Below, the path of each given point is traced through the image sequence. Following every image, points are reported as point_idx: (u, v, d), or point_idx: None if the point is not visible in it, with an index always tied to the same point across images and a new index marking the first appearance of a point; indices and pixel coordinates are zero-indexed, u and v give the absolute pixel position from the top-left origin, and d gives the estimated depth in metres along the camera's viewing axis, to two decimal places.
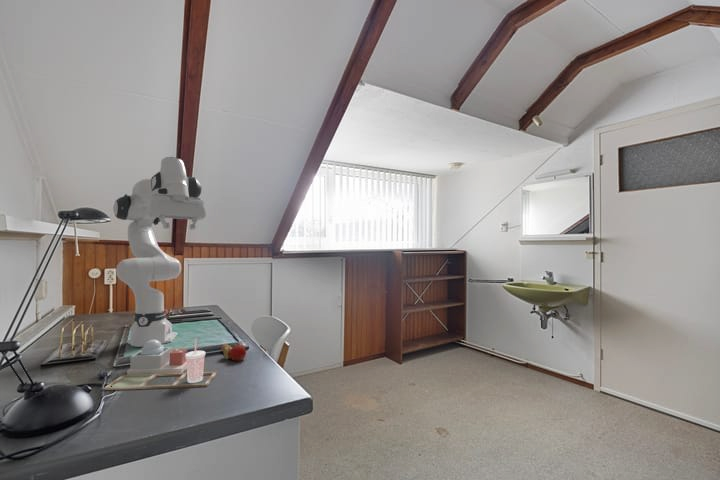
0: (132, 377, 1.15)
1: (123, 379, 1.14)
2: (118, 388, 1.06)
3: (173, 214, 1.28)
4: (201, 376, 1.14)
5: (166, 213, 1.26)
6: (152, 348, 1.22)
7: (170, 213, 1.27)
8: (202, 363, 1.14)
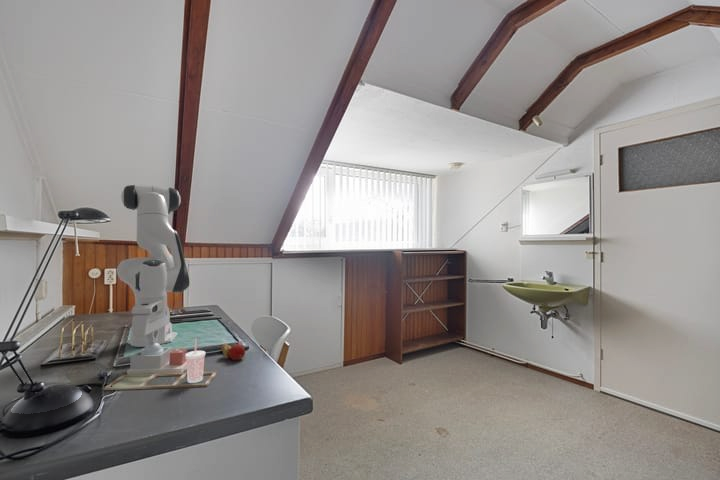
0: (132, 377, 1.15)
1: (123, 379, 1.14)
2: (118, 388, 1.06)
3: (154, 330, 1.22)
4: (201, 376, 1.14)
5: (151, 331, 1.20)
6: (152, 351, 1.22)
7: (153, 330, 1.21)
8: (202, 363, 1.14)
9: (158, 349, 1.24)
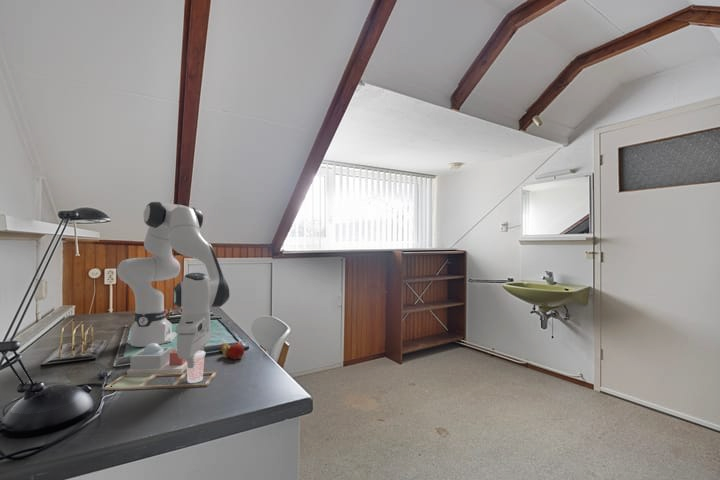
0: (132, 377, 1.15)
1: (123, 379, 1.14)
2: (118, 388, 1.06)
3: (198, 350, 1.12)
4: (201, 376, 1.14)
5: (195, 352, 1.09)
6: (152, 352, 1.22)
7: (197, 350, 1.11)
8: (202, 363, 1.14)
9: (158, 350, 1.24)
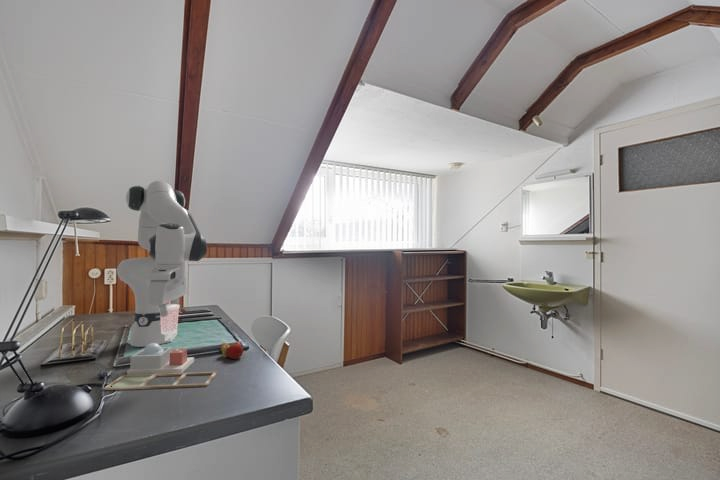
0: (132, 377, 1.15)
1: (123, 379, 1.14)
2: (118, 388, 1.06)
3: (171, 300, 1.11)
4: (175, 328, 1.13)
5: (168, 300, 1.09)
6: (152, 352, 1.22)
7: (170, 299, 1.10)
8: (176, 315, 1.13)
9: (158, 350, 1.24)
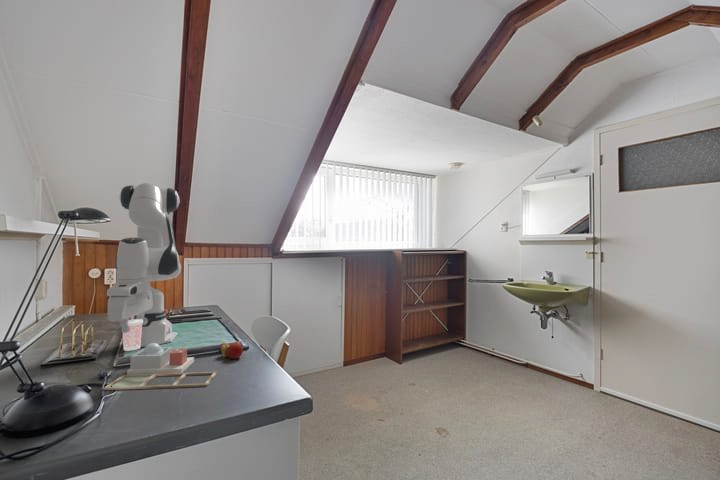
0: (132, 377, 1.15)
1: (123, 379, 1.14)
2: (118, 388, 1.06)
3: (133, 315, 1.10)
4: (138, 344, 1.11)
5: (129, 316, 1.07)
6: (152, 352, 1.22)
7: (132, 315, 1.09)
8: (139, 331, 1.11)
9: (158, 350, 1.24)
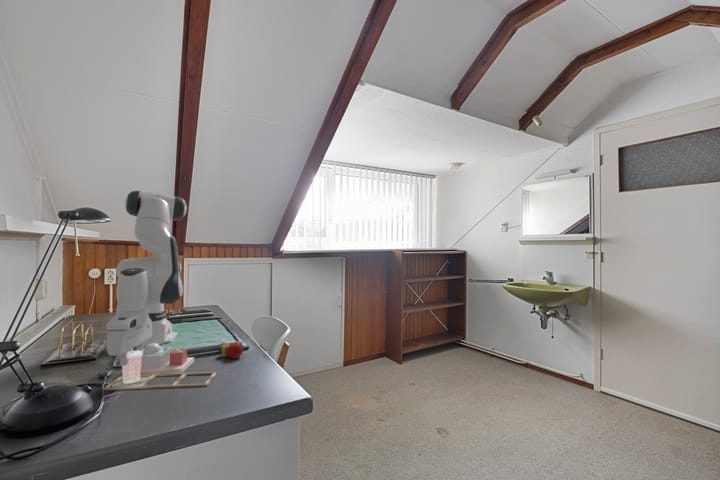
0: None
1: None
2: (118, 388, 1.06)
3: (133, 347, 1.10)
4: (137, 377, 1.11)
5: (129, 349, 1.07)
6: (152, 352, 1.22)
7: (131, 347, 1.09)
8: (138, 363, 1.11)
9: (158, 350, 1.24)
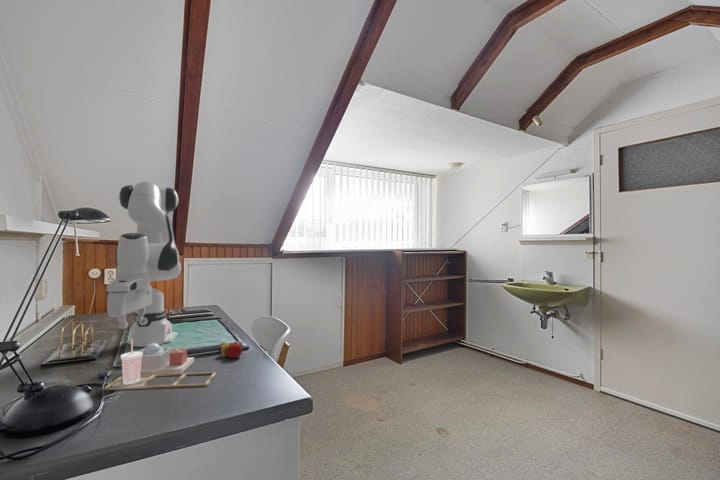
0: None
1: None
2: (118, 388, 1.06)
3: (133, 311, 1.10)
4: (137, 377, 1.11)
5: (129, 312, 1.07)
6: (152, 352, 1.22)
7: (132, 310, 1.09)
8: (138, 364, 1.12)
9: (158, 350, 1.24)
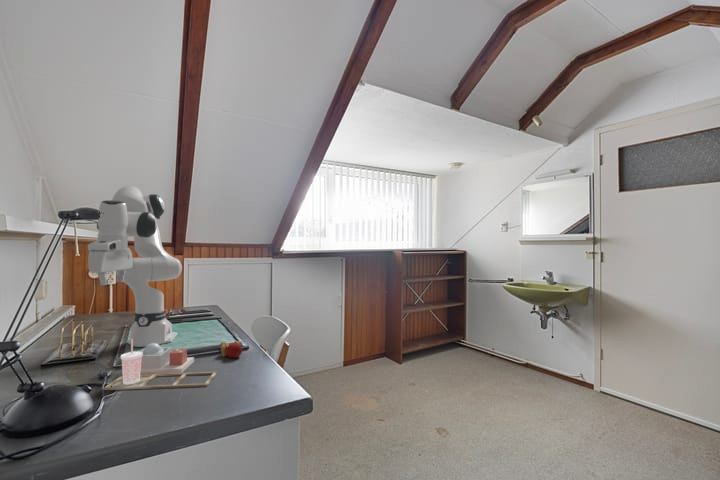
0: None
1: None
2: (118, 388, 1.06)
3: (113, 270, 1.20)
4: (137, 377, 1.11)
5: (109, 270, 1.18)
6: (152, 352, 1.22)
7: (111, 269, 1.19)
8: (138, 364, 1.12)
9: (158, 350, 1.24)
